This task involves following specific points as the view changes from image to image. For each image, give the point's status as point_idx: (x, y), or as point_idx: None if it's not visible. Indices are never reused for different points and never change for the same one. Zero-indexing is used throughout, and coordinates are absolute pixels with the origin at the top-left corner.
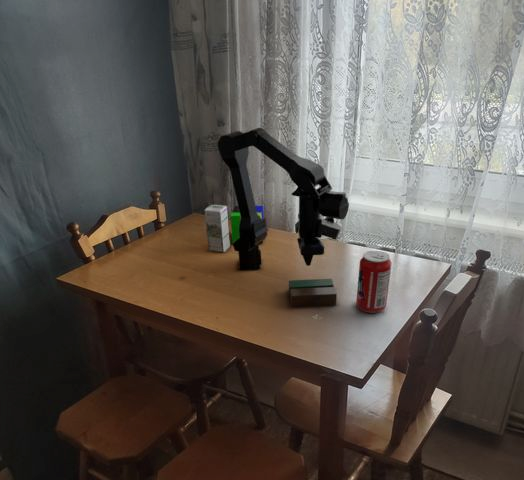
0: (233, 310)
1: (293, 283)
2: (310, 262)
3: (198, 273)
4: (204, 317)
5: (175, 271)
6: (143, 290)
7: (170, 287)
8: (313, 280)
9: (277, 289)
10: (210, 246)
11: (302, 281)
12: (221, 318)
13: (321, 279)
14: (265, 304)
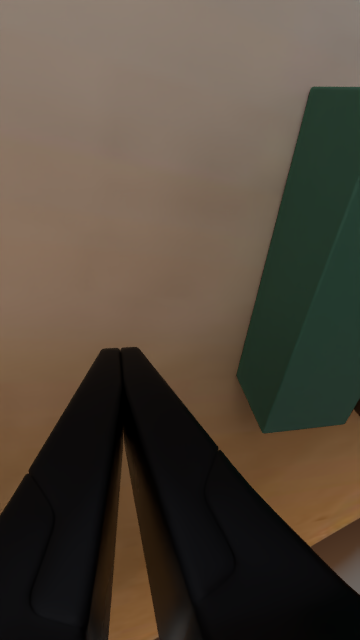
0: (302, 501)
1: (311, 412)
2: (160, 378)
3: None
4: (305, 535)
5: None
6: (133, 627)
7: (124, 609)
8: (335, 294)
9: (198, 418)
10: None
11: (311, 368)
12: (329, 512)
13: (355, 220)
14: (309, 442)
